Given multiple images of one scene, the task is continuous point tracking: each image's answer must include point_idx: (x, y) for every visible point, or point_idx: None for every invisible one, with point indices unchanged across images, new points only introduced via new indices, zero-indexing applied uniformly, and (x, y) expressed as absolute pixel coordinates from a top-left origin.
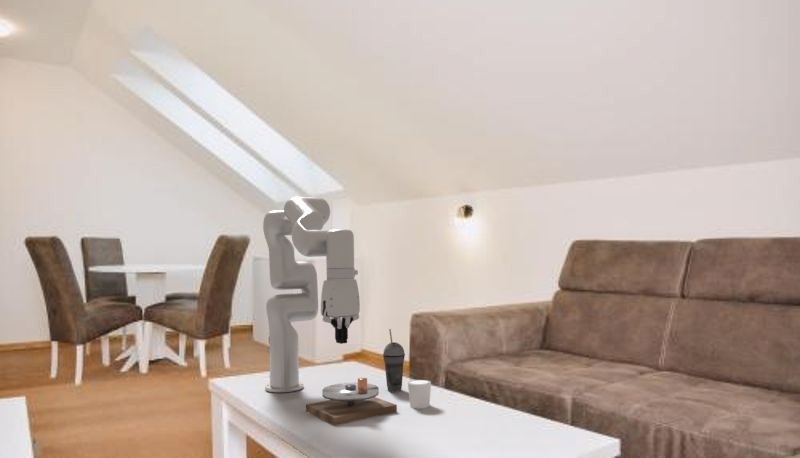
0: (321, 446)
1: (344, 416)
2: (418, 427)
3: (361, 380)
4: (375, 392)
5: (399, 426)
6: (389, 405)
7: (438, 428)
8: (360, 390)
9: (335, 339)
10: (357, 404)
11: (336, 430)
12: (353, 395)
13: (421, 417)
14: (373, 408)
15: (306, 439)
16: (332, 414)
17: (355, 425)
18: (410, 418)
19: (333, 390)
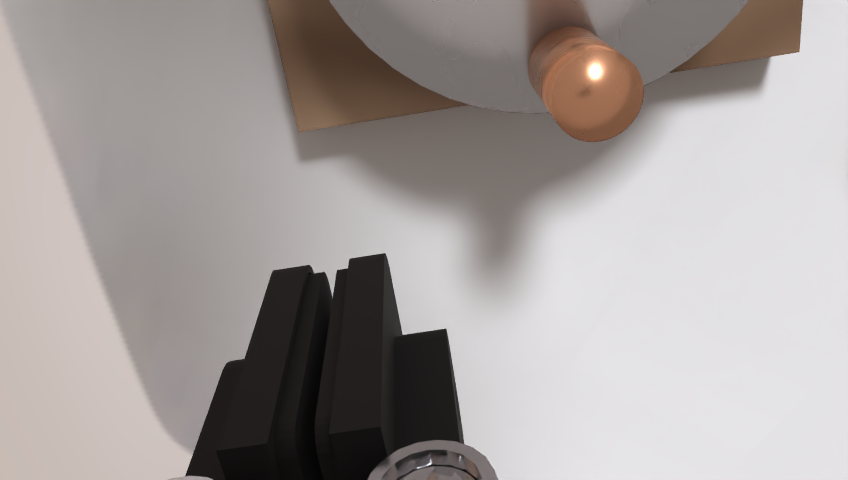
0: (154, 385)
1: (372, 117)
2: (681, 353)
3: (566, 132)
4: (681, 61)
5: (613, 299)
6: (749, 42)
7: (746, 404)
8: (541, 100)
9: (231, 365)
10: None
11: (286, 206)
12: (472, 92)
13: (811, 219)
14: None
15: (98, 268)
16: (307, 52)
17: (416, 174)
18: (750, 206)
19: None
